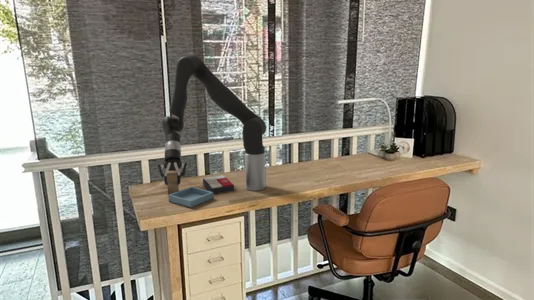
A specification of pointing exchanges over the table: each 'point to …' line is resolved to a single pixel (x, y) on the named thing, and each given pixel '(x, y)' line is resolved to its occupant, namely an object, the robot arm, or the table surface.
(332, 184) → the table surface
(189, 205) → the tray
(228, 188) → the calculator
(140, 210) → the table surface
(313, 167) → the table surface
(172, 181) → the walnut block
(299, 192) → the table surface
